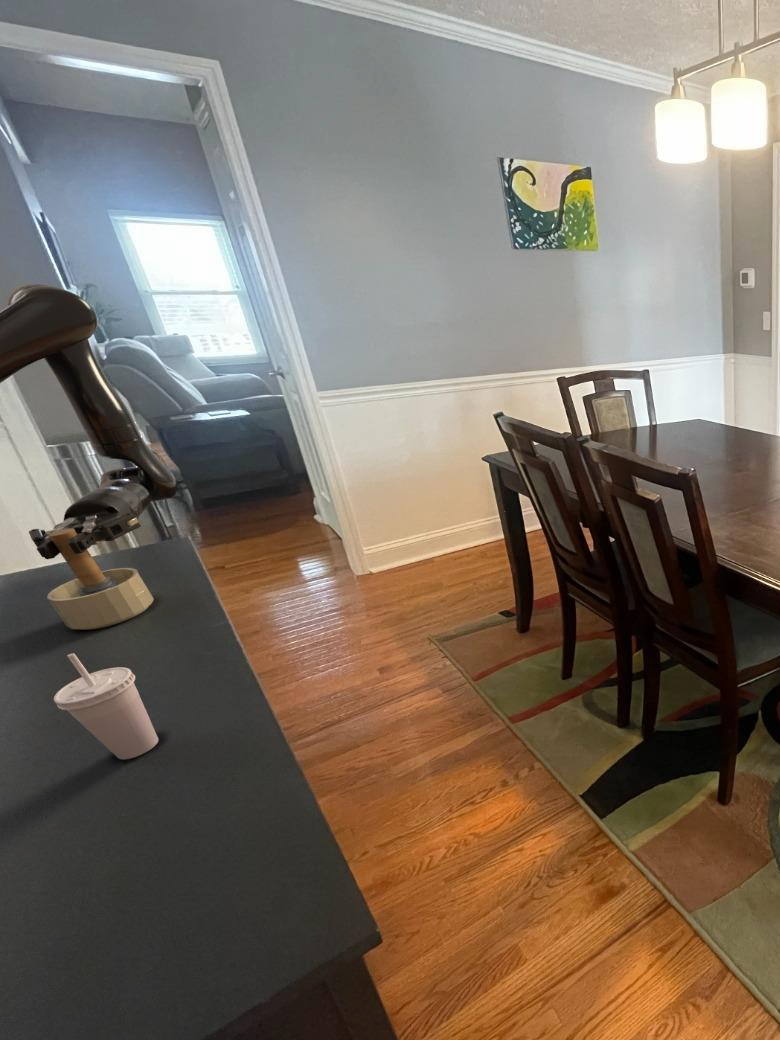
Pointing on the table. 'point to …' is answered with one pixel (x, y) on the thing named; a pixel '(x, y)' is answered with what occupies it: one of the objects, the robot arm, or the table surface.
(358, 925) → the table surface
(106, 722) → the smoothie
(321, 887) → the table surface
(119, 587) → the bowl
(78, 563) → the brush
